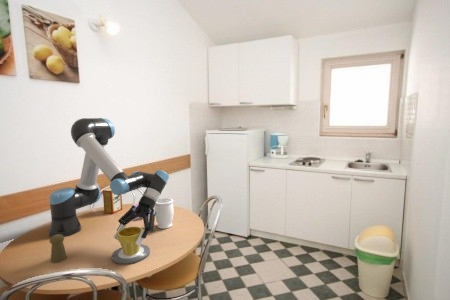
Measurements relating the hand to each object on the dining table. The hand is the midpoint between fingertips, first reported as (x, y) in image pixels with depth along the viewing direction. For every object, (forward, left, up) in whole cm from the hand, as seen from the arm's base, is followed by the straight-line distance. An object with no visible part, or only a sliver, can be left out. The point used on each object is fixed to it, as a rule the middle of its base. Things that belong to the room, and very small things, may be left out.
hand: (126, 241), depth 115 cm
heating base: (0, +2, -7) cm, 8 cm away
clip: (-34, +44, -8) cm, 56 cm away
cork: (-26, -15, -7) cm, 31 cm away
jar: (-8, +34, -7) cm, 36 cm away
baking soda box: (-56, +38, -7) cm, 68 cm away
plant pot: (0, +2, -6) cm, 6 cm away
